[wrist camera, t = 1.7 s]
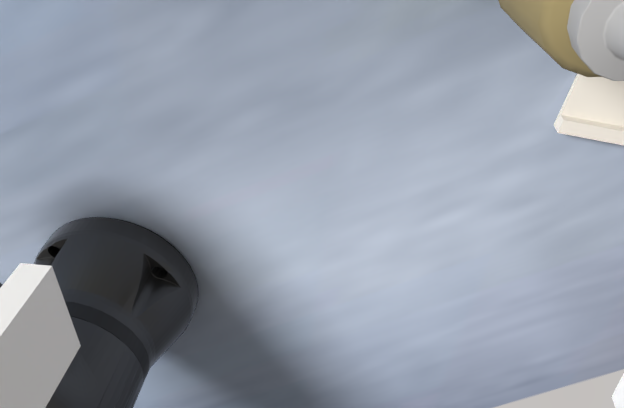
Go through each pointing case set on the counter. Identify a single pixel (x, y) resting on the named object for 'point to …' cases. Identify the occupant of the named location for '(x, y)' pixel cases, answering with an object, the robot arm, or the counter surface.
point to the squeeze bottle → (575, 33)
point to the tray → (593, 110)
